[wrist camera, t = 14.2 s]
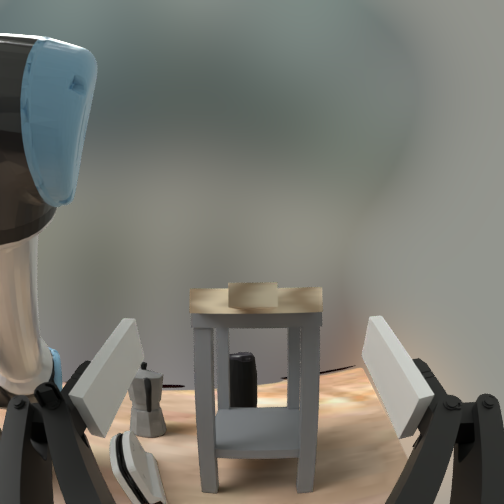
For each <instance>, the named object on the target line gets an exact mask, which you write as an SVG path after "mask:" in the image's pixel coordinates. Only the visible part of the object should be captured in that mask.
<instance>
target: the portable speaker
mask: <svg viewBox="0 0 504 504" xmlns="http://www.w3.org/2000/svg"><path fill="white" fill-rule="evenodd" d="M229 369H230V407H241V408H257V371H256V364H255V357H254V356H253V354H252V353H249V352H239V353H236V354H229Z"/></svg>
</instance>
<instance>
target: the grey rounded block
mask: <svg viewBox="0 0 504 504" xmlns="http://www.w3.org/2000/svg"><path fill="white" fill-rule="evenodd" d="M110 461H111V467H112V471H113V474H114V476H115V478H116V479H117V481H118V482H119V484H120V485H121V487H122V489H123V490H124V492H125V493H126V495H127V496H128V497H129V499H130V500H131V502H132V503H133V504H144V501H143V498H144V500H145V501H146V503H150V504H153V503H156V502H158V501H161V502H162V503H163V504H168V503H167V500H166V496H165V493H164V489H163V485H162V482H161V478H160V474H159V470H158V466H157V461H156V459H155V458H154V456H153V454H151V453H147V452H145V451H144V449H143V447H142V446H141V444H140V442H139V441H138V439H137V437H136V435H135V434H134V432H133V431H125V432H124V434H121V433H119V434H117V435H115V436H113V437H112V439H111V441H110Z"/></svg>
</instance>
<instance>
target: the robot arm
mask: <svg viewBox="0 0 504 504" xmlns="http://www.w3.org/2000/svg"><path fill="white" fill-rule="evenodd" d="M96 78H97V62H96V59H95V57H94V56H93V54H92V53H91V52H90V51H88V50H87V49H85V48H82V47H79V46H76V45H72V44H69V43H66V42H62V41H59V40H55V39H52V38H50V37H40V36H30V35H19V34H0V409H6V410H7V412H6V416H5V421H4V425H3V430H1V428H0V504H54V502H53V486H52V462H53V465H54V469H55V472H56V476H57V479H58V482H59V485H60V488H61V491H62V494H63V497H64V500H65V503H66V504H116V502H115V501H114V499H113V497H112V495H111V493H110V491H109V489H108V487H107V485H106V482H105V480H104V478H103V476H102V474H101V472H100V469H99V467H98V465H97V462H96V460H95V458H94V455H93V453H92V450H91V448H90V445H89V442H88V440H87V437H86V435H85V434H84V431H85V429H86V427H87V428H88V430H89V431H90V433H91V435H95V436H99V437H102V438H105V437H106V434H107V432H108V430H109V428H110V426H111V424H112V422H113V420H114V418H115V415H116V413H117V411H118V409H119V407H120V405H121V403H122V401H123V399H124V397H125V395H126V393H127V391H128V389H129V387H130V385H131V383H132V381H133V379H134V377H135V375H136V373H137V371H138V369H139V367H140V365H141V363H142V361H143V359H144V353H143V349H142V345H141V342H140V337H139V333H138V329H137V325H136V320H135V319H129V318H123V320H122V321H121V322H120V324H119V325H118V326H117V327H116V329H115V330H114V331H113V333H112V334H111V335H110V337H109V338H108V339H107V341H106V342H105V344H104V345H103V346H102V348H101V349H100V350H99V352H98V353H97V354H96V356H95V357H94V359H93V360H92V361H85V362H84V363H82V364H81V365H80V366H79V367H78V368H77V370H76V371H75V373H74V374H73V375H72V376H71V379H69V380H68V382H67V383H66V385H65V386H64V387H63V389H62V372H61V361H60V356H59V354H58V352H57V351H56V350H54V349H51V348H49V347H48V346H47V344H46V343H45V342H44V340H43V339H42V338H41V337H40V327H39V315H38V299H37V298H38V297H37V250H38V234H39V233H41V232H42V231H43V230H44V229H45V228H46V227H47V226H48V225H49V224H50V223H51V221H52V219H53V218H54V215H55V213H56V208H57V207H60V206H61V205H68V204H70V203H71V202H72V201H73V199H74V195H75V191H76V186H77V180H78V174H79V168H80V161H81V155H82V148H83V144H84V139H85V134H86V129H87V124H88V118H89V114H90V109H91V103H92V99H93V94H94V89H95V84H96ZM362 358H363V360H364V362H365V364H366V366H367V368H368V370H369V373H370V375H371V377H372V379H373V381H374V383H375V386H376V388H377V390H378V392H379V395H380V397H381V399H382V401H383V404H384V406H385V408H386V410H387V413H388V415H389V417H390V420H391V422H392V424H393V427H394V429H395V432H396V434H397V436H398V439H402V438H405V437H409V436H413V435H414V433H415V431H416V429H417V428H418V429H419V431H420V435H419V437H418V438H417V440H416V442H415V443H414V445H413V447H414V448H413V450H412V453H411V455H410V457H409V459H408V461H407V463H406V465H405V467H404V469H403V471H402V473H401V475H400V477H399V479H398V481H397V483H396V485H395V487H394V489H393V490H392V492H391V494H390V496H389V497H388V499H387V501H386V503H385V504H433V503H434V501H435V498H436V496H437V493H438V491H439V488H440V486H441V483H442V481H443V478H444V475H445V472H446V470H447V466H448V463H449V461H450V457H451V454H452V451H453V448H454V462H453V478H452V490H451V498H450V504H504V428H503V421H502V415H501V410H500V405H499V402H498V400H497V399H496V398H495V397H494V396H492V395H491V394H482V395H480V396H479V397H478V399H477V400H476V402H469V403H462V402H461V400H460V399H459V398H458V397H456V396H453V395H447V394H446V392H445V390H444V389H443V387H442V386H441V384H440V383H439V381H438V380H437V378H436V377H434V376H435V375H434V374H433V373H432V372H431V369H430V368H429V367H428V365H427V364H426V363H425V362H423V361H422V360H421V359H419V358H418V359H413V360H412V359H411V358H410V356H409V354H408V353H407V352H406V350H405V349H404V347H403V346H402V344H401V343H400V341H399V340H398V338H397V337H396V335H395V334H394V333H393V331H392V330H391V328H390V327H389V326H388V324H387V323H386V321H385V320H384V319H383V317H382V316H372V317H369V322H368V327H367V333H366V337H365V342H364V347H363V351H362Z"/></svg>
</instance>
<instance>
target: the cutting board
mask: <svg viewBox="0 0 504 504" xmlns="http://www.w3.org/2000/svg"><path fill="white" fill-rule="evenodd" d="M277 286H278V285H277V282H273V283H271V282H270V283H228V289H190V313H206V314H270V313H307V312H323V306H322V305H323V302H322V287H307V288H278V287H277Z"/></svg>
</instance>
